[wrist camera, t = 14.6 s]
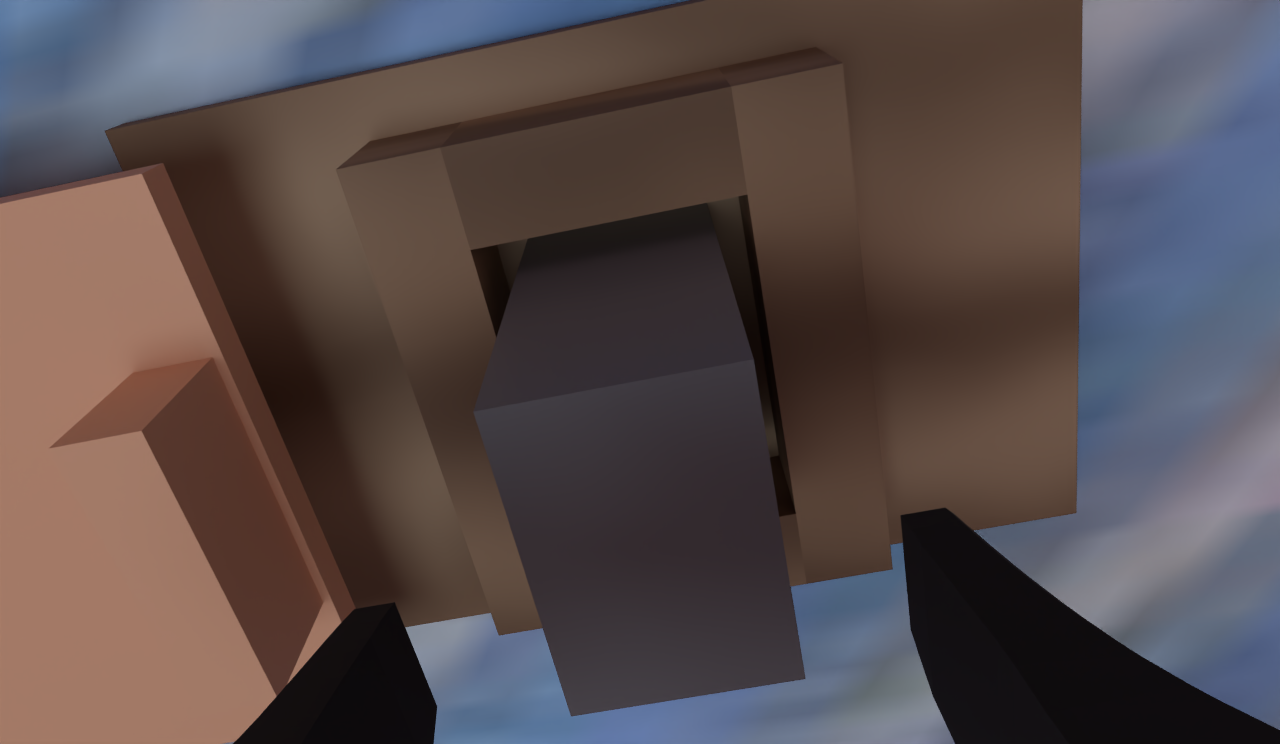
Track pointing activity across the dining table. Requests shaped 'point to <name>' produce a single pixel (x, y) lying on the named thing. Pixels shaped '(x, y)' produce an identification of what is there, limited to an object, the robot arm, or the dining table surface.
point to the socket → (650, 183)
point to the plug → (639, 465)
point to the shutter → (140, 485)
